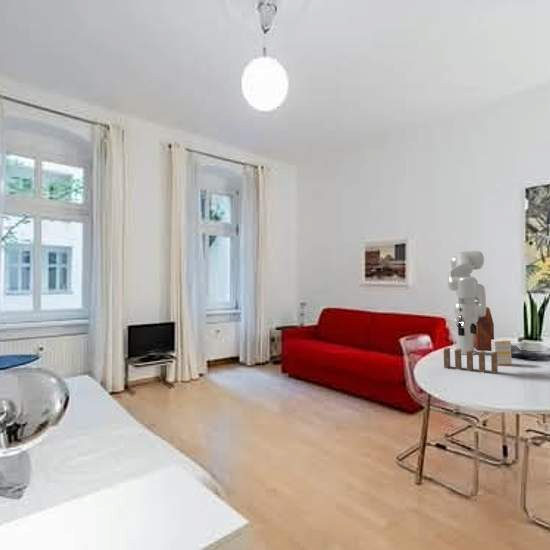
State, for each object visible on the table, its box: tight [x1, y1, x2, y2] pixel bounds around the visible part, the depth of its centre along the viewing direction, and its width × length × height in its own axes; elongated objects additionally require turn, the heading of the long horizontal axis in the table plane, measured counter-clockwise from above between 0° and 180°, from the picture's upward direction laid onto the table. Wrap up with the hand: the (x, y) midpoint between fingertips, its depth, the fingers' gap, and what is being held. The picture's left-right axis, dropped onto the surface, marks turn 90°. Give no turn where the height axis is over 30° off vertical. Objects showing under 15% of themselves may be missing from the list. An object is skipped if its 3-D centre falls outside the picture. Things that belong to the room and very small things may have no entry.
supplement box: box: [491, 339, 513, 366], centre depth 208 cm, size 8×5×13 cm, turn 84°
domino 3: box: [466, 350, 474, 372], centre depth 198 cm, size 2×5×10 cm, turn 143°
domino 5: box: [490, 351, 499, 375], centre depth 192 cm, size 2×5×10 cm, turn 143°
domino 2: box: [454, 349, 463, 370], centre depth 202 cm, size 2×5×10 cm, turn 143°
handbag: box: [474, 306, 495, 351], centre depth 254 cm, size 10×19×35 cm, turn 163°
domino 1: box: [443, 347, 451, 369], centre depth 205 cm, size 2×5×10 cm, turn 143°
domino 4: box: [478, 350, 486, 373], centre depth 195 cm, size 2×5×10 cm, turn 144°
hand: (467, 334), depth 199 cm, fingers open, 9 cm apart
